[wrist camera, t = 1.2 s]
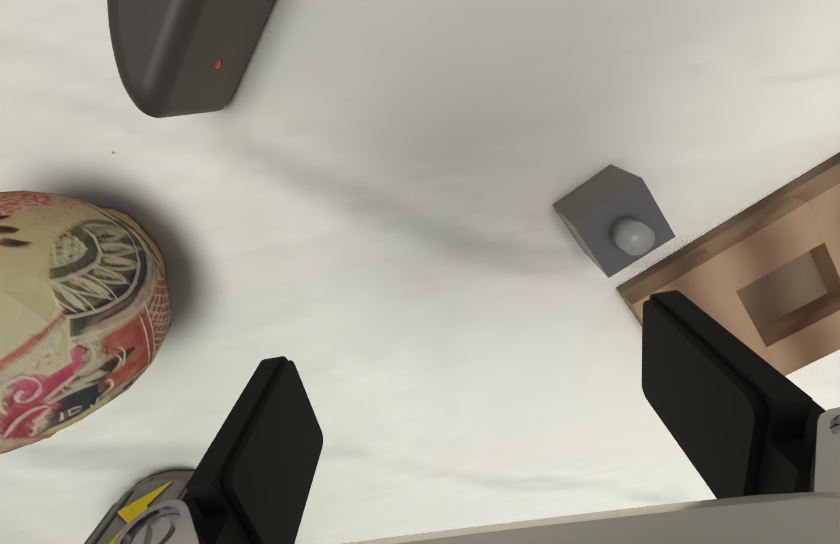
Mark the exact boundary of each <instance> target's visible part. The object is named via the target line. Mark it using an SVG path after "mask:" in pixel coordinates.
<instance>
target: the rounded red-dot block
mask: <svg viewBox="0 0 840 544" xmlns="http://www.w3.org/2000/svg"><path fill="white" fill-rule="evenodd" d="M273 2H274V0H107V4H108V18H109V28H110V35H111V42H112V47H113V52H114V57H115V61H116V64H117V68H118V72H119V75H120V78H121V81H122V83H123V85H124V87H125V89H126V91H127V93H128V95H129V96H130V98H131V99H132V101H133V102H134V104H135V105H136V106H137V107H138V108H139V109H140V110H141V111H142V112H143V113H145V114H147V115H149V116H151V117H155V118H163V117H172V116H180V115H189V114H197V113H205V112H214V111H219V110H221V109H223V108H224V107H225V106H226V104H227V103H228V102H229V100H230V99H231V97H232V95H233V93H234V91H235V89H236V87H237V84H238V82H239V80H240V77H241V75H242V73H243V70H244V68H245V66H246V64H247V61H248V59H249V57H250V54H251V52H252V50H253V48H254V45H255V43H256V41H257V38H258V36H259V34H260V31H261V29H262V27H263V25H264V22H265V20H266V18H267V15H268V13H269V11H270V9H271V6H272V4H273Z"/></svg>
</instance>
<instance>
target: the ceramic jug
mask: <svg viewBox="0 0 840 544" xmlns="http://www.w3.org/2000/svg"><path fill="white" fill-rule="evenodd" d="M111 152H112V151H111ZM112 154H114V153H113V152H112ZM170 326H171V307H170V296H169V291H168V286H167V283H166V266H165V262H164V259H163V257H162V255H161V253H160V251H159V250H158V248H157V246H156V245H155V243H154V241H153V240H152V239H151V238H150V237H149V236H148V235H147V234H146V233H145V231H144V230H143V229H142V228H141V227H140V226H139V225H138V224H137V223H136V222H135V221H134V220H133V219H132V218H130V217H129V216H128V215H127V214H125V213H123V212H121V211H118V210H116V209H109V208H98V207H96V206H94V205H93V204H91V203H88V202H86V201H83V200H79V199H75V198H70V197H66V196H62V195H57V194H50V193H40V192H30V191H11V192H0V454H2V453H6V452H9V451H12V450H15V449H17V448H20V447H23V446H26V445H29V444H32V443H35V442H37V441H40V440H42V439H45V438H49V437H51V436H52V435H53V434H55V433H56V432H57V431H59V430H61V429H63V428H66V427H68V426H70V425H72V424H74V423H75V422H78V421H80V420H82V419H83V418H85V417H86V416H88V415H89V414H91V413H93V412H94V411H96V410H97V409H99V408H101V407H102V406H104V405H105V404H107V403H108V402H110V401H111V400H113V399H114V398H116V397H117V396H118V395H120V394H121V393H123V392H125V391H126V390H128V389H129V388H130V387H131V386H132V384H133V383H134V382H135V381H136V380H137V379H138V378H139V377H140V376H141V375H142V374H143V372H144V371H145V370H146V369H147V368H148V366H149V365H150V364H151V363H152V361H153V360H154V358H155V356H156V354H157V352H158V351H159V349H160V347H161V345H162V342H163V341H164V338H165V336H166V333H167V331H168V329H169V328H170Z"/></svg>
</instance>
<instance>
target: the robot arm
mask: <svg viewBox="0 0 840 544" xmlns="http://www.w3.org/2000/svg"><path fill="white" fill-rule="evenodd" d="M642 389H643V392H644V395H645V397H646V399H647V400H648V402H649V403H650V405H651V406H652V407H653V409H654V410H655V412H656V413H657V414H658V416H659V417H660V419H661V420H662V422H663V423H664V424H665V426H666V427H667V429H668V430H669V431H670V433H671V434H672V436H673V437H674V439H675V440H676V441H677V443H678V444H679V446H680V447H681V448H682V450H683V451H684V453H685V454H686V456H687V457H688V458H689V460H690V461H691V463H692V464H693V465H694V467H695V468H696V470H697V471H698V472H699V474H700V475H701V477H702V478H703V480H704V481H705V482H706V484H707V485H708V487H709V488H710V489H711V491H712V492H713V494H714V495H715V497H716V498H717V499H713V500H703V501H693V502H683V503H673V504H664V505H656V506H647V507H638V508H630V509H621V510H613V511H604V512H595V513H587V514H578V515H570V516H561V517H552V518H544V519H536V520H528V521H519V522H511V523H503V524H495V525H486V526H478V527H470V528H462V529H454V530H446V531H438V532H429V533H421V534H413V535H405V536H398V537H390V538H382V539H374V540H366V541H359V542H351V543H343V544H840V407H838V408H834V409H829V410H827V411H825V410H824V409H823V408H822V407H821V406H819V405H818V404H817V403H816V402H814V401H813V400H812V398H811V397H810V396H808V395H807V394H806V393H805V392H803V391H802V390H801V389H800V388H799V387H797V386H796V385H795V384H794V383H792V382H791V381H790V380H789V379H787V378H786V377H785V376H784V375H782V374H781V373H780V372H779V371H777V370H776V369H775V368H774V367H772V366H771V365H770V364H769V363H768V362H766V361H765V360H764V359H763V358H761V357H760V356H759V355H758V354H756V353H755V352H754V351H753V350H751V349H750V348H749V347H748V346H746V345H745V344H744V343H743V342H741V341H740V340H739V339H738V338H737V337H735V336H734V335H733V334H732V333H730V332H729V331H728V330H727V329H725V328H724V327H723V326H722V325H720V324H719V323H718V322H717V321H715V320H714V319H713V318H712V317H710V316H709V315H708V314H707V313H706V312H704V311H703V310H702V309H701V308H699V307H698V306H697V305H696V304H694V303H693V302H692V301H691V300H689V299H688V298H687V297H686V296H684V295H683V294H682V293H681V292H679V291H678V290H671V291H666V292H660V293H654V294H651V295H650V297H649V300H647V301H644V303H643V324H642ZM322 446H323V435H322V431H321V429H320V426H319V424H318V421H317V419H316V416H315V414H314V411H313V409H312V406H311V404H310V401H309V399H308V396H307V394H306V391H305V389H304V386H303V384H302V381H301V379H300V376H299V374H298V371H297V369H296V366H295V364H294V362H293V361H291V360H289V361H288V360H287V358H286V357H284V356H282V357H276V358H270V359H264V360H262V361H261V362H260V364H259V366H258V367H257V369H256V371H255V372H254V374H253V376H252V377H251V379H250V380H249V382H248V384H247V385H246V387H245V389H244V390H243V392H242V394H241V395H240V397H239V399H238V400H237V402H236V404H235V405H234V407H233V409H232V410H231V412H230V414H229V415H228V417H227V419H226V420H225V422H224V424H223V425H222V427H221V429H220V430H219V432H218V434H217V435H216V437H215V438H214V440H213V442H212V443H211V445H210V447H209V448H208V450H207V452H206V453H205V455H204V457H203V458H202V460H201V462H200V463H199V465H198V467H197V468H196V470H195V472H194V473H193V475H192V477H191V478H190V480H189V482H188V483H187V485H186V489H187V492H186V493H185V495H184V497H183V499H182V500H181V501H180V500H178V499H176V500H166V501H163V502H160V503H157V504H155V505H154V506H152V507H150V508H148V509H146V510H145V511H143V512H142V513H141V514H139V515H138V516H136V517H135V518H134V519H133V520H132V521H131V522H130V523H129V524H128V525H127V526H126V527H125V528H124V529H123V530H122V531H121V533H120V534H119V535H118V537H117V538H116V539H115V541H114V543H113V544H294V543H295V539H296V536H297V532H298V529H299V526H300V522H301V519H302V515H303V512H304V508H305V505H306V501H307V498H308V494H309V491H310V488H311V484H312V481H313V477H314V474H315V470H316V467H317V463H318V460H319V456H320V453H321V450H322Z"/></svg>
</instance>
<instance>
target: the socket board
mask: <svg viewBox="0 0 840 544" xmlns="http://www.w3.org/2000/svg"><path fill="white" fill-rule="evenodd" d="M617 290H618V291H619V293H620V294H621V296H622V297H623V299H624V300H625V302H626V303H627V305H628V306H629V308H630V309H631V311H632V312H633V314H634V315H635V317H636V318H637V320H638V321H639V323H640V324H641V326H642V324H643V303H644V301H647V300H649V297H650V295H651V294H654V293H660V292H666V291H671V290H678V291H679V292H681V293H682V294H683V295H684V296H686V297H687V298H688V299H689V300H691V301H692V302H693V303H694V304H696V305H697V306H698V307H699V308H701V309H702V310H703V311H704V312H706V313H707V314H708V315H709V316H710V317H712V318H713V319H714V320H715V321H717V322H718V323H719V324H720V325H722V326H723V327H724V328H725V329H727V330H728V331H729V332H730V333H732V334H733V335H734V336H735V337H737V338H738V339H739V340H740V341H741V342H743V343H744V344H745V345H746V346H748V347H749V348H750V349H751V350H753V351H754V352H755V353H756V354H758V355H759V356H760V357H761V358H763V359H764V360H765V361H766V362H768V363H769V364H770V365H771V366H772V367H774V368H775V369H776V370H777V371H779V372H780V373H781V374H782V375H784V376H786V375H788V374H790V373H792V372H794V371H796V370H798V369H800V368H802V367H804V366H806V365H808V364H810V363H812V362H814V361H816V360H818V359H821V358H823V357H825V356H827V355H829V354H831V353H833V352H835V351H837V350H839V349H840V153H838V154H837V155H835V156H833V157H832V158H830V159H828V160H827V161H825V162H823V163H822V164H820V165H818V166H817V167H815V168H813V169H812V170H810V171H808V172H807V173H805V174H804V175H802V176H800V177H799V178H797V179H795V180H794V181H792V182H790V183H789V184H787V185H785V186H784V187H782V188H780V189H779V190H777V191H775V192H774V193H772V194H770V195H769V196H767V197H766V198H764V199H762V200H761V201H759V202H757V203H756V204H754V205H752V206H751V207H749V208H747V209H746V210H744V211H742V212H741V213H739V214H737V215H736V216H734V217H733V218H731V219H729V220H728V221H726V222H724V223H723V224H721V225H719V226H718V227H716V228H714V229H713V230H711V231H709V232H708V233H706V234H704V235H703V236H701V237H700V238H698V239H696V240H695V241H693V242H691V243H690V244H688V245H686V246H685V247H683V248H681V249H680V250H678V251H676V252H675V253H673V254H671V255H670V256H668V257H667V258H665V259H663V260H662V261H660V262H658V263H657V264H655V265H653V266H652V267H650V268H648V269H647V270H645V271H643V272H642V273H640V274H638V275H637V276H635V277H633V278H632V279H630V280H629V281H627V282H625V283H624V284H622V285H620V286H619V287H617Z"/></svg>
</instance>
